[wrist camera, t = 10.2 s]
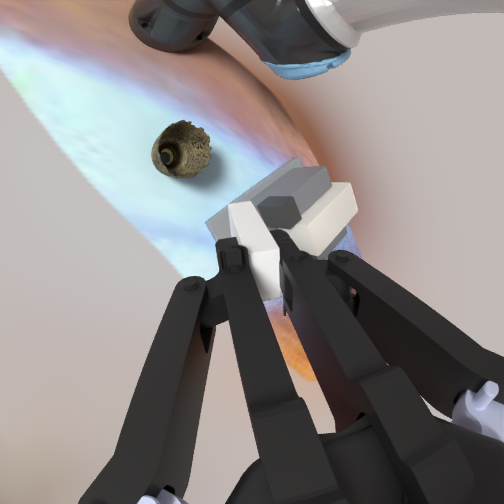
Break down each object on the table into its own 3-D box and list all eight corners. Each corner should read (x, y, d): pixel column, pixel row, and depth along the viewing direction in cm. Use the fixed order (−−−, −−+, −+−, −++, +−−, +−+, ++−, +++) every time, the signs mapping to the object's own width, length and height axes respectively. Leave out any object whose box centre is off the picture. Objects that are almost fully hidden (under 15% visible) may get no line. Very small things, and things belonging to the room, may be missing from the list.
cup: (194, 149, 41) (221, 139, 35) (174, 190, 40) (197, 187, 34) (155, 125, 36) (176, 109, 30) (132, 167, 35) (147, 159, 29)
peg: (287, 249, 49) (318, 256, 44) (275, 221, 46) (307, 225, 41) (329, 208, 55) (358, 210, 50) (320, 182, 52) (350, 182, 47)
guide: (248, 296, 52) (287, 314, 44) (204, 222, 44) (243, 227, 36) (320, 225, 62) (359, 229, 54) (294, 157, 54) (336, 152, 46)
